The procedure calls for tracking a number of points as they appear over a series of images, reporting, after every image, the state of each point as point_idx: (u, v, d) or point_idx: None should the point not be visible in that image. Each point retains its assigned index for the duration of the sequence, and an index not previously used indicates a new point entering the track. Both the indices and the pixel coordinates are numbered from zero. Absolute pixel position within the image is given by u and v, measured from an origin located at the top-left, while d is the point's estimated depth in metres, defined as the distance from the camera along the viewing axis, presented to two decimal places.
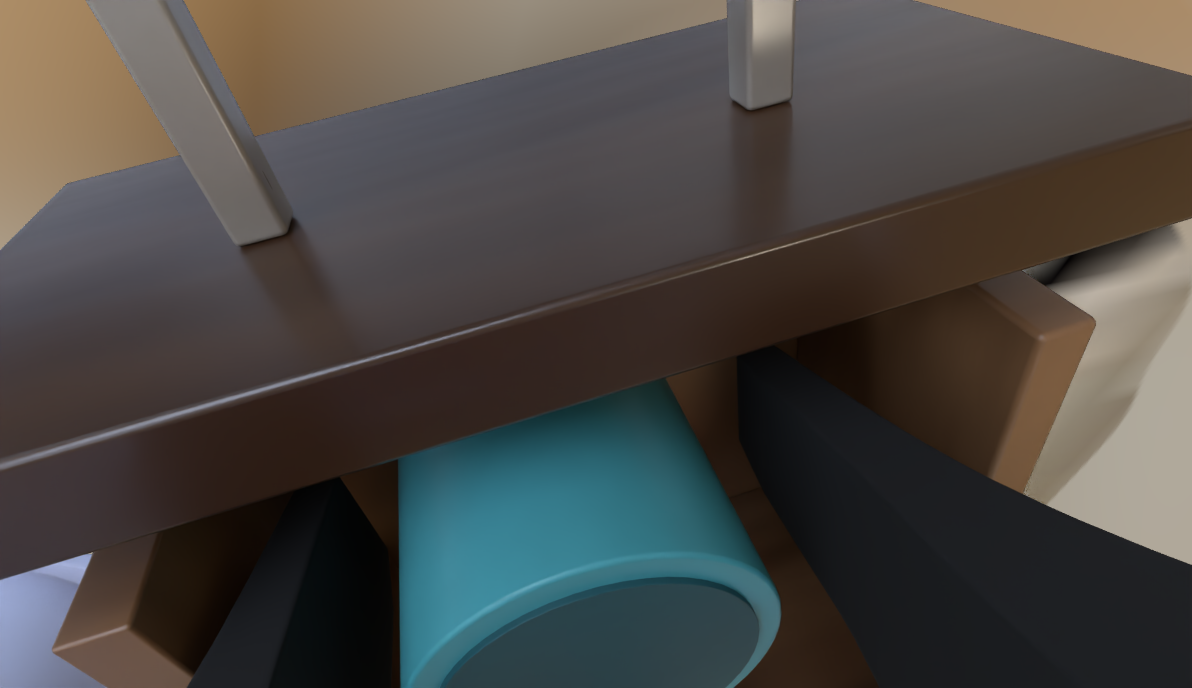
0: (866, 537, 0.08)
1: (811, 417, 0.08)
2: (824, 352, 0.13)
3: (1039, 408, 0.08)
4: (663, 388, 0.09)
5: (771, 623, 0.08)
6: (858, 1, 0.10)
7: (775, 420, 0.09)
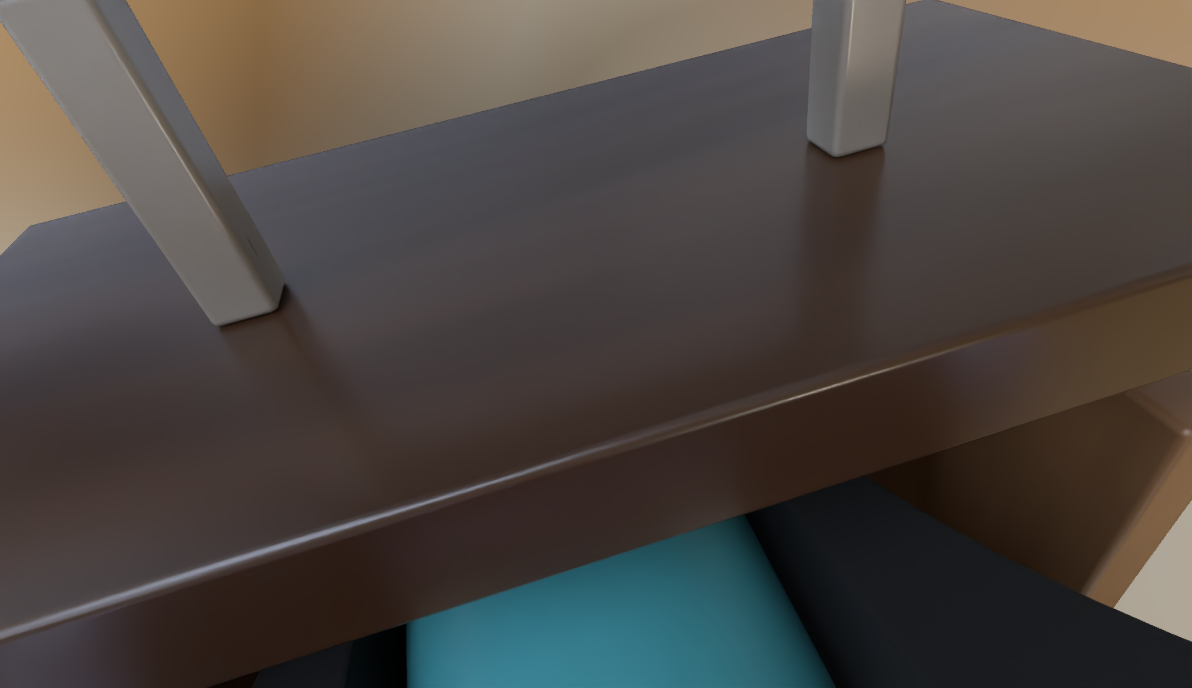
0: (792, 561, 0.07)
1: None
2: None
3: (1167, 506, 0.07)
4: None
5: None
6: (936, 17, 0.09)
7: None
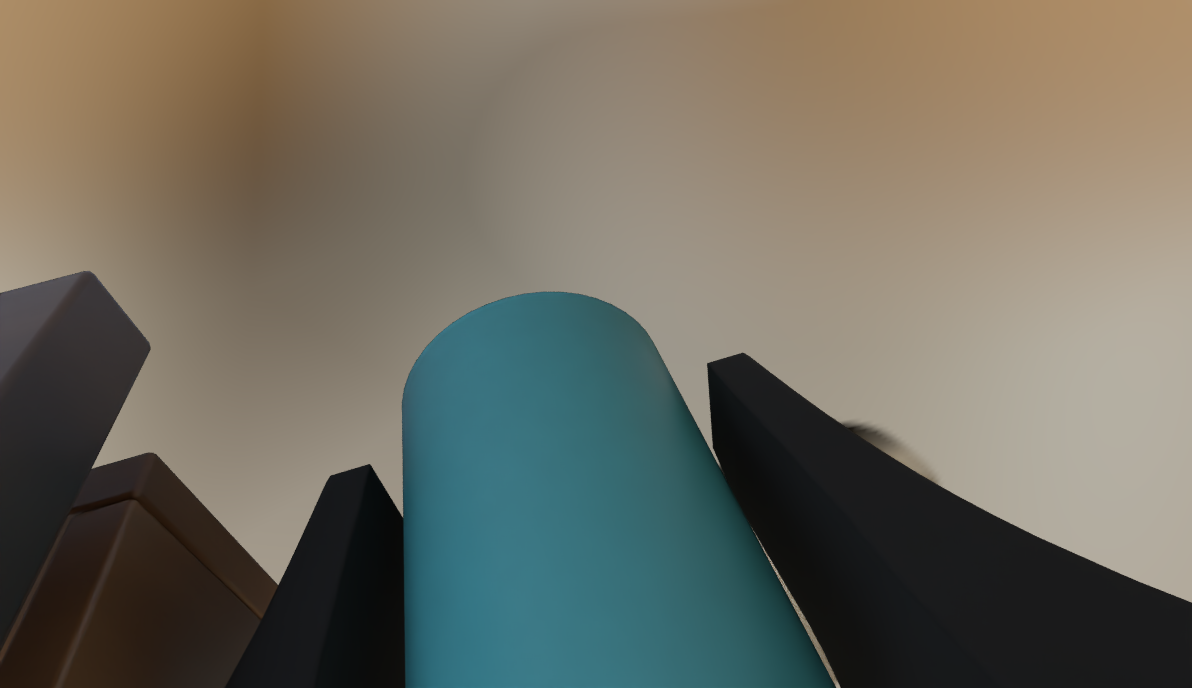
0: (828, 549, 0.07)
1: (776, 428, 0.08)
2: None
3: None
4: (710, 465, 0.08)
5: None
6: None
7: (743, 430, 0.09)
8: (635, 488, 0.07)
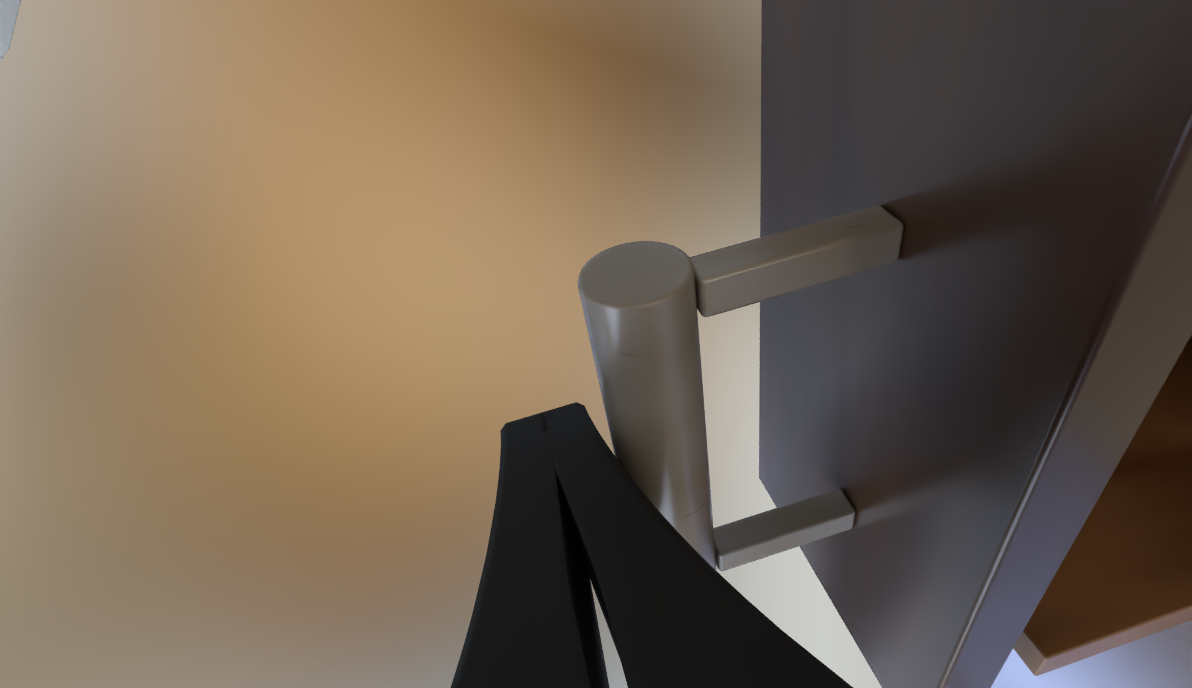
0: None
1: (572, 491, 0.08)
2: None
3: None
4: None
5: None
6: None
7: None
8: None
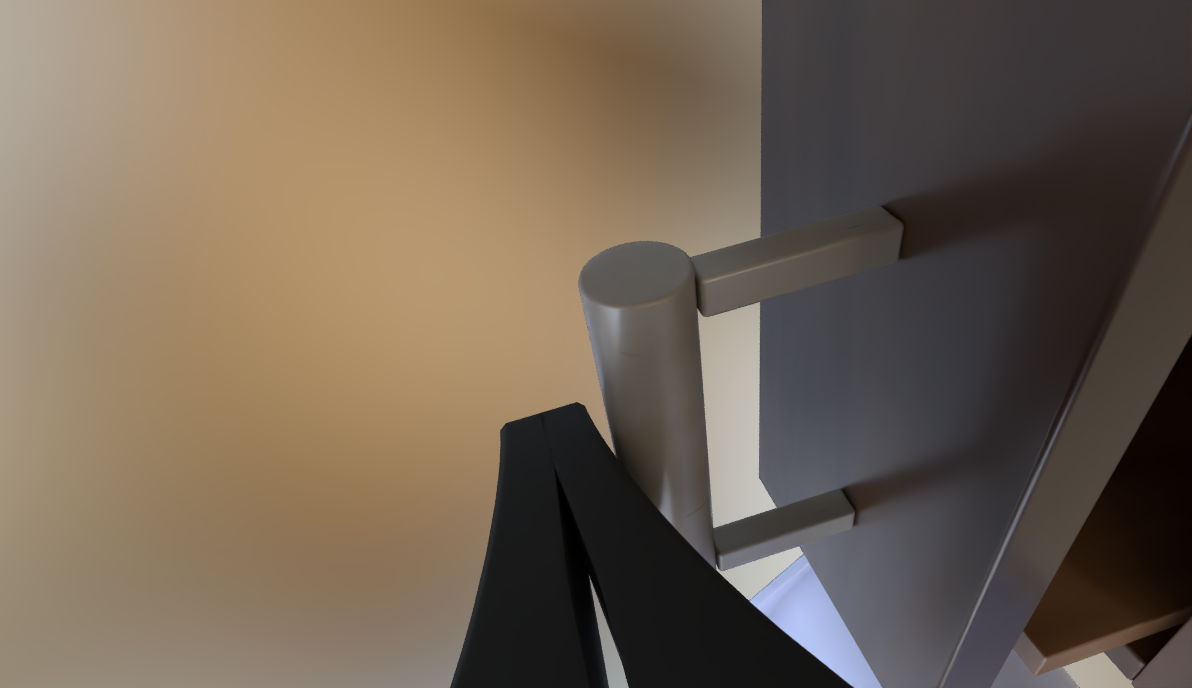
0: None
1: (573, 491, 0.08)
2: None
3: None
4: None
5: None
6: None
7: (560, 486, 0.09)
8: None
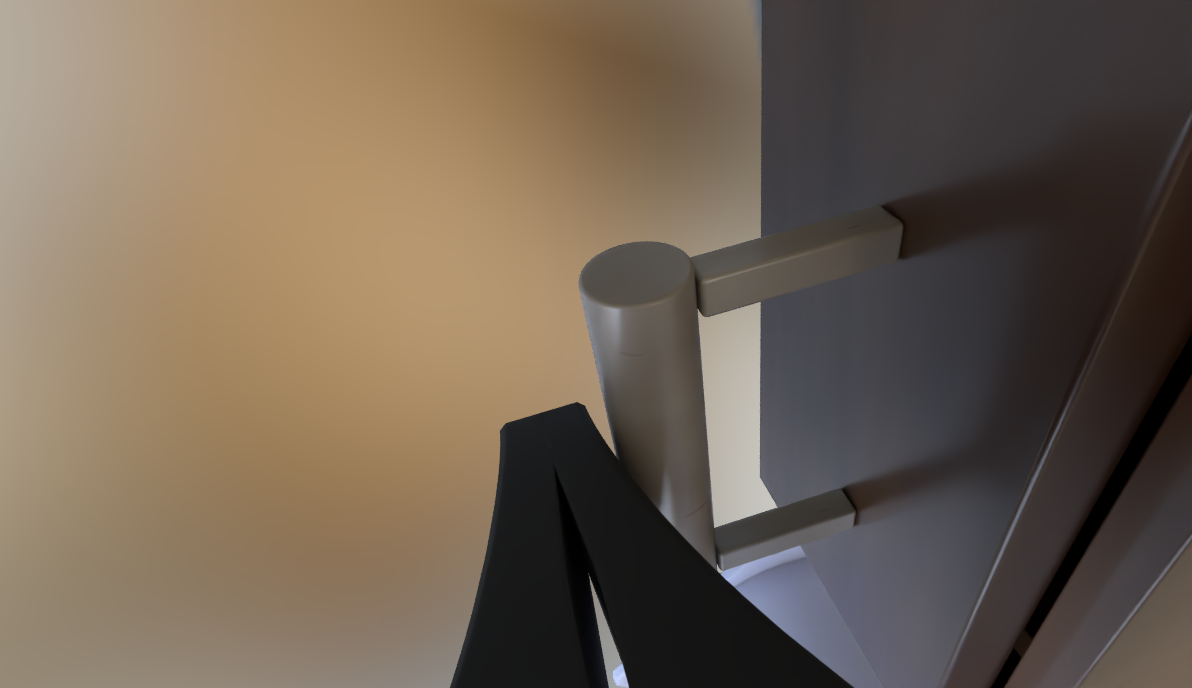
0: None
1: (573, 491, 0.08)
2: None
3: None
4: None
5: None
6: None
7: (560, 486, 0.09)
8: None
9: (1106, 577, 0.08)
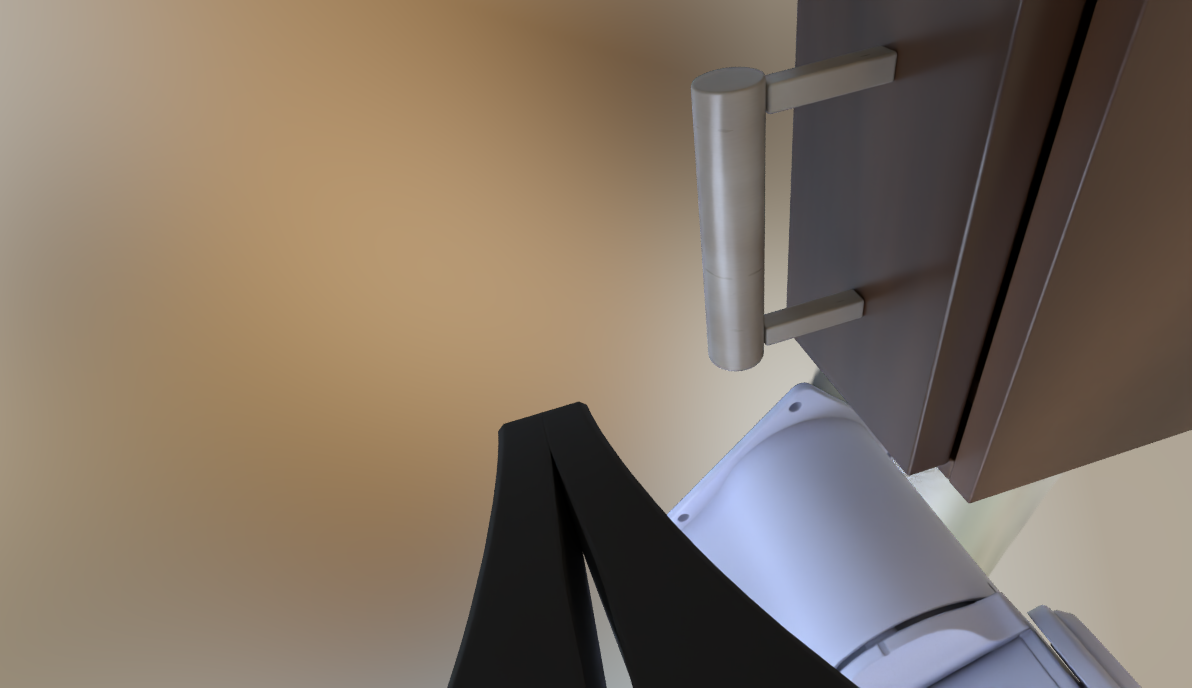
0: (613, 621, 0.07)
1: (575, 490, 0.08)
2: None
3: None
4: None
5: None
6: None
7: (562, 486, 0.09)
8: None
9: (1026, 279, 0.12)
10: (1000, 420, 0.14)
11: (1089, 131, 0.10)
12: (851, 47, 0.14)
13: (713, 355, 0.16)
